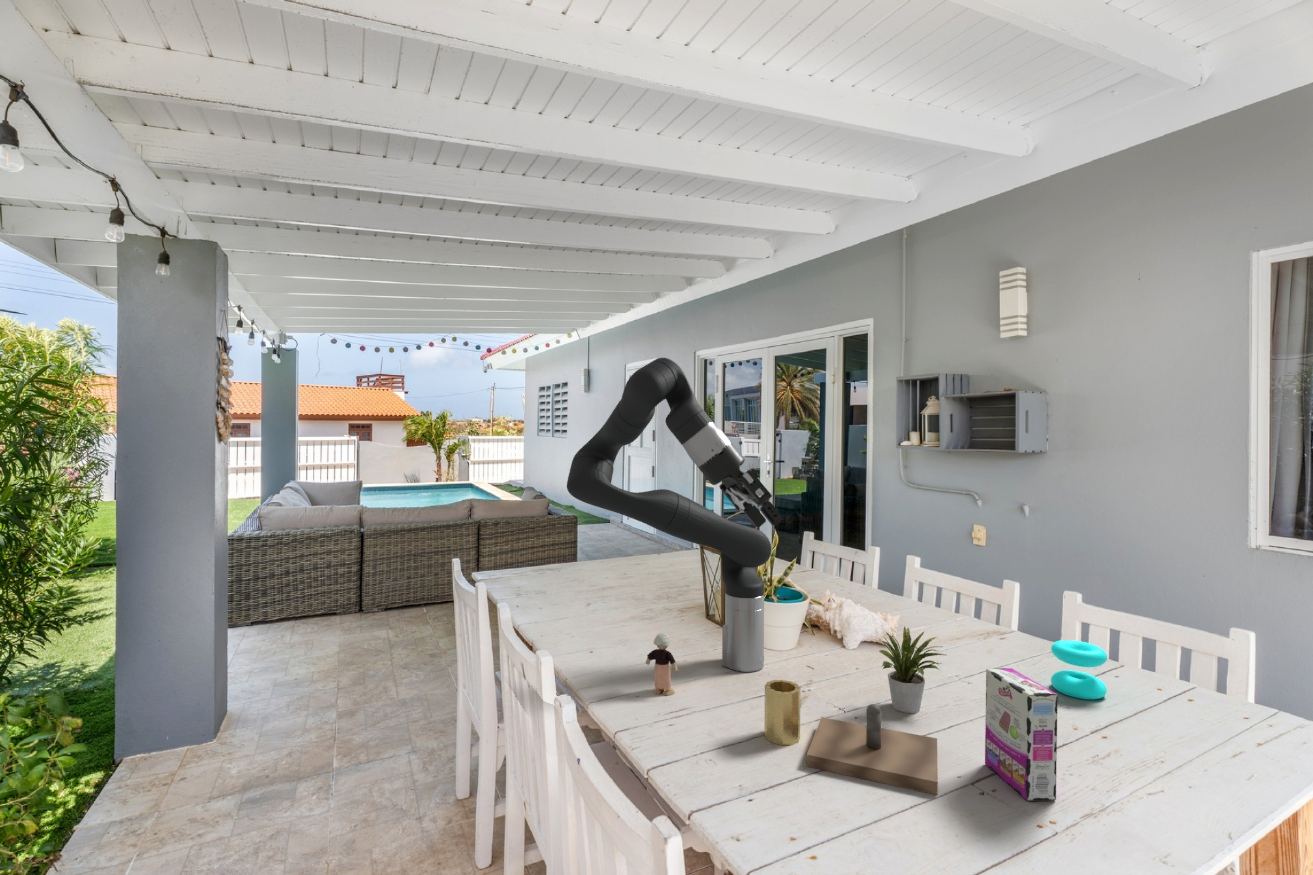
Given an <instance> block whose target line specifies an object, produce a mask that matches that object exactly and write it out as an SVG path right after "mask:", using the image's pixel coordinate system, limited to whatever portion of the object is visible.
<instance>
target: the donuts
mask: <svg viewBox="0 0 1313 875" xmlns="http://www.w3.org/2000/svg"><path fill="white" fill-rule="evenodd" d="M1050 650H1051V652H1052V655H1053V656H1054V657H1055V658H1057V659H1058V660H1059V661H1060V662H1063V663H1066V664H1068V665H1072V666H1075V667H1081V668H1097V667H1101V666H1103V665H1105V663H1106V662H1107V660H1108V655H1107V652H1106V651H1105V650H1104V649H1103V648H1101V647H1100V646H1098V645H1096V644H1092V643H1090V642H1086V641H1082V640H1074V639H1060V640H1057V641H1054V642H1053V643H1052V644H1051V648H1050ZM1050 682H1051V685H1052V686H1053V688H1054V689H1055V690H1056V691H1057V692H1060V693H1061V694H1063V695H1065V696H1068V697H1072V698H1077V699H1082V700H1099V699H1102V698H1104V697H1105V696H1106V695H1107V692H1108V690H1107V687H1106V684H1105V683H1104V682H1103V681H1102V680H1101V679H1100V678H1098V677H1096V676H1094V675H1092V674H1090V673H1087V672H1084V671H1078V670H1069V669H1065V670H1063V669H1062V670H1059V671H1056V672H1054V674H1052V675H1051V677H1050Z"/></svg>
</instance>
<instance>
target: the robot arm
mask: <svg viewBox="0 0 1313 875" xmlns="http://www.w3.org/2000/svg"><path fill="white" fill-rule="evenodd" d="M664 400H666V403H667V404H668V407H669V409H670V411H669V412H668V414H667V416H666V417H665V424H666V427H667V428H668V430H669V431H670V432H671V433H672V435H673V436H674V437H675V438H676V439H677V441H678V442H679V443H680V445H681V446H682V447H683V449H684V450H685V452H686V454H687V455H688V457H689V458H690V459H691V461H692V462H693V463H694V465H696V467H697V468H698V470H699V471H700V472H701V473H702V475H703V476H704V477H705V478H706V480H707V481H708V482H709V483H710V484H711V485H712V486H716V485H718V484H720V483H721V482H722V483H721V484H720V485H719V486H718V487H719V489H720V490H721V491H722V492H723V494H724V495H725V496H726V498H727V499H728V501H729V502H730V503H731V504H732V505H733V507H734V508H735V510H737V511H740V512H742V513H744V514H745V515H746V516H747V518H748V519H749V520H750V522H751V523H752V524H753V525H754V526H755V527H752V526H749V525H746V524H745V525H744V524H740V523H737V522H734V521H732V520H729V519H726V518H724V517H723V516H721V515H720V514H718V513H716V512H714V511H713V510H711V509H709V508H707V507H706V506H704V505H702V504H700V503H698V502H696V501H694V500H692V499H690V498H688V497H686V496H684V495H682V494H680V493H678V492H675V491H673V490H670V489H665V488H663V489H662V488H661V489H652V490H648V491H642V492H641V491H639V492H633V491H629V490H626V489H623V488H620V487H618V486H615V485H613V483H612V479H613V475H614V471H615V470H614V464H615V461H616V458H617V456H618V453H619V452H620V450H621V449H622V447H624V446H628V445H630V444H632V443H633V442H634V441H636V440H637V439H638V438H639V437H640V436H641V435H642V434H643V432H644V431H645V429H646V428H647V426H648V425H649V424H650V423H651V421H652V420H653V417H654V415H655V413H656V407H657V406H658V405H659V404H660V403H662V402H663V401H664ZM744 463H745V457H744V456H743V455H742V453H741V452H740V451H739V450H738V449H737V447H736V446H735V445H734V444H733V443H732V441H731V440H730V439H729V438H728V436H727V435H726V433H725V432H724V431H723V430H722V429H721V428H720V427H719V426H718V425H717V424H716V423H715V422H714V421H713V420H712V419H711V418H710V416H709V415H708V414H707V412H706V411H705V410H704V409H703V407H702V406H701V405H700V404H699V403H698V400H697V398H696V395H695V393H694V391H693V388H692V387H691V385H690V382H689V380H688V378H687V375H686V374H685V372H684V371H683V369H682V368H681V367H680V366H679V364H678V363H676V362H675V361H674V360H672V359H670V358H667V357H658V358H656V359H654V360H652V361H651V362H649V363H647V364H646V365H643V366H642V367H641V368H639V369H637V370H636V371H635V372H634V373H632V375H630V377H629V379H628V380H627V381H626V383H625V386H624V389H623V393H622V395H621V398H620V400H618V403H617V405H616V406H615V407H614V409H613V410H612V412H611V414H610V415H609V417H608V418H607V420H606V421H605V423H604V424H603V425H602V427H601V428H600V429H599V430H598V431H597V432H596V433H595V434H594V435H593V436H592V437H591V438H590V439H589V440H588V441H587V442H586V443H585V444H584V445H583V446H582V447H581V448H580V449H578V451H577V452H576V453H575V455H574V456H573V459H572V461H571V465H570V469H569V473H568V476H567V482H566V490H567V491H568V493H569V494H570V496H572V497H573V498H575V499H577V500H578V501H581V502H583V503H585V504H588V505H591V506H593V507H597V508H601V509H603V510H607V511H610V512H613V513H616V514H619V515H622V516H625V517H628V518H630V519H632V520H635V521H638V522H640V523H643V524H645V525H647V526H649V527H651V528H654V529H656V530H658V531H660V532H662V533H664V534H667V535H669V536H673V537H675V538H678V539H680V540H683V541H686V542H690V543H692V544H696V545H699V546H704V547H708V548H711V549H713V550H716V551H718V552H720V553H721V554H720V555H721V557H720V558H721V577H722V581H723V584H724V590H725V594H724V596H725V598H724V600H725V602H724V608H725V609H724V616H725V617H724V624H723V625H722V627H721V628H722V633H721V634H722V636H721V637H722V639H721V640H722V641H721V642H722V644H721V645H722V646H721V647H722V648H721V651H722V653H721V658H722V659H721V660H722V661H721V666H723V667H726V668H729V669H730V670H733V671H737V672H743V673H744V672H745V673H747V672H748V673H749V672H757V671H760V670H762V669H763V668H764V667H765V666H764V664H765V663H764V662H765V646H764V645H765V583H764V582H763V579H762V578H761V577H760V575H759V573H758V570H757V568H758V567H760V566H761V567H762V566H763V565H765V564H766V563H767V562H768V561H769V559H770V558H771V555H772V545H771V541H770V539H769V538H768V536H767V535H766V534H765V533H764V532H763V531H761V530H760V529H758V528H760V527H762V526H763V525H764V524H765V523H766V522H767V521H768V522H769V524H770V525H771V526H777V525H778V524H779V523H780V522H781V521H782V520H783V515H782V514H781V513H780V512H779V511H778V509H777V508H776V507H775V505H773V503H772V502H771V498H772V497H773V495H772V494H771V492H770V491H769V490H768V489H767V488H766V486H765V485H764V484H763V483H762V482H761V481H760V479H759V478H758V477H757V476H756V475H755V473H754V471H752V470H751V469H747V471H746V472H744V471H743V470H742V469H741V466H742V465H743V464H744Z"/></svg>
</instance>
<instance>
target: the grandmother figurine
mask: <svg viewBox="0 0 1313 875" xmlns="http://www.w3.org/2000/svg"><path fill="white" fill-rule="evenodd" d="M669 642H670V635H669V634H668V633H666V632H660V633H657V635H656V636H655V638H654V640H653V644H654V645H655V646H656V647H657V648H656V649H653V650H652V651H650V652H649V653H648V654H647V655H646V656H647V657H646V660H645V664H646V665H647V666H648V665H650V664H651V662H652V661H654V660H655V662H654V675H653V676H654V677H653V678H654V690H653V693H654V694H657V695H658V694H661V693H662V695H663V696H671V695H674V694H675V690H674V688H672V680H671V679H672V678H671V668H672V671H673V672H674V673H676V672H678V666H677V662H676V659H675V658H674V655H673V654H672V652H671V651H669V650H667V648H668V647H669Z"/></svg>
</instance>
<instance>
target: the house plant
mask: <svg viewBox="0 0 1313 875" xmlns="http://www.w3.org/2000/svg"><path fill="white" fill-rule="evenodd" d="M903 627H904V628H903V630H902V642H901V643H902V644H901V646H900V644H899V642H898V640H897V639H896V638H895V637H894V636H892V635H891V634H890V633H889V632H887V631H886V630H885V633H886V635H887V636H888V639H889V640H887V638H886V637H883V636H882V638H883V639H884V640H882V639H881V638H877V639H878V640H874V641H875V642H882V643H883V645H884V646H885V647H886V648H887V650H886V649H885V650H884V649H880V650H878V652H879V653H880V654H882V655H884V656H886V658H888V659H889V660H890V661H891V662H892V663H893V664H892V663H891V662H890V661H887V660H884V661H882V666H881V667H882V669H881V670H883V669H884V670H885V669H889V668H893V669H894V670H892V671H890V672H888V673H887V678H888V679H887V680H888V686H889V691H890V698H891V704H892V708H893V709H894V710H896V711H898V712H901V713H904V714H905V713H906V714H917V713H918V712H920V710H921V705H922V701H923V700H922V699H923V694H924V689H925V685H926V684H925V683H926V679H925V677H924V674H925V672H924V670H925V669H937V670H938V671H941V670H940V668H938V667H937V666H936V665H938V666H940V664H941V665H943V663H940V662H937V661H934V660H924V661H923V659H925V658H927V657H933V656H946V654H944V653H939V652H938V650H937V649H933V648H942V646H938V645H936V646H935V645H934V646H929V644H930V643H931V642H932V641H933V640H935V639H937V638H938V636H934V637H931V638H929V639H927V640H925V641H924V642H923V643H922V644H921V645H920V646H919V647H918V646H917V644H918V643H919V641H920V640H921V638H922V637H923V636H924V633H925V631H923V632H921V633H920V634H919V635H918V636H917V637H916V638H914V640H913V641H912V637H911V634H910V633H911V632H910V631H911V630H910V628H909V627H907V628H906V626H903ZM891 644H892V645H891ZM928 646H929V647H928ZM930 651H933V652H930ZM937 652H938V653H937ZM927 663H929V664H927ZM940 667H941V666H940Z"/></svg>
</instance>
